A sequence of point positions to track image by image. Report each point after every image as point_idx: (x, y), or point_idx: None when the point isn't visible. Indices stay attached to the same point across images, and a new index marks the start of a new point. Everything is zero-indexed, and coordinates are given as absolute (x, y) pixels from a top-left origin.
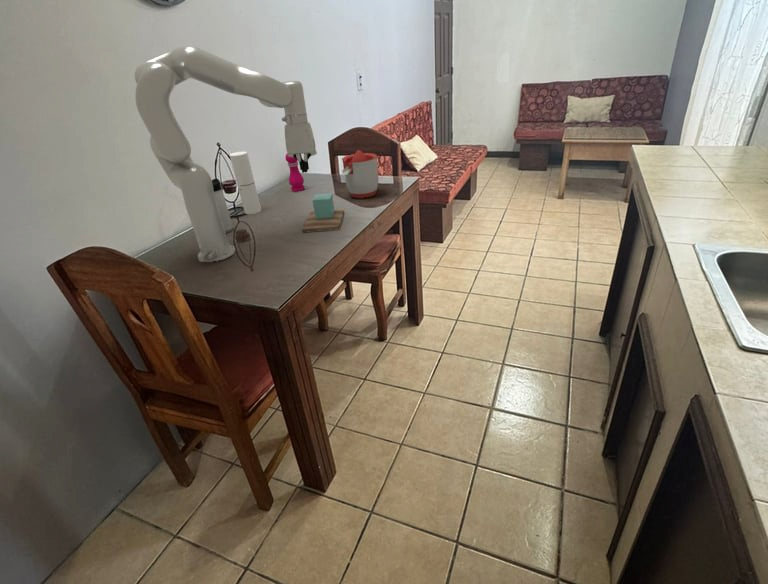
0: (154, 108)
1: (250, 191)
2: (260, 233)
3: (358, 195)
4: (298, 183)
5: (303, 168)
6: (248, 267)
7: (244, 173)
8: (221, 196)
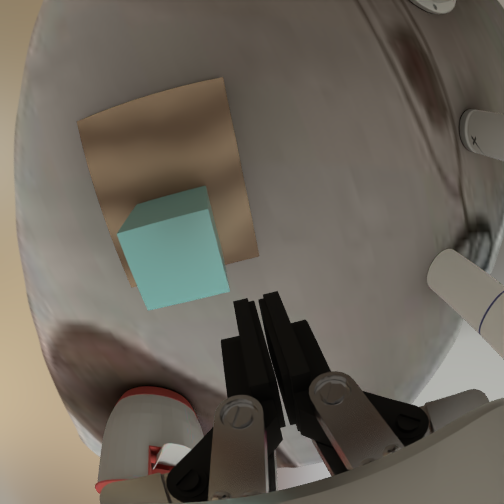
0: None
1: (479, 290)
2: (382, 85)
3: (149, 391)
4: None
5: (265, 322)
6: None
7: None
8: None
